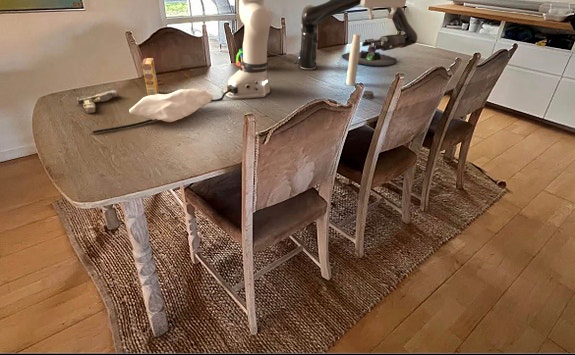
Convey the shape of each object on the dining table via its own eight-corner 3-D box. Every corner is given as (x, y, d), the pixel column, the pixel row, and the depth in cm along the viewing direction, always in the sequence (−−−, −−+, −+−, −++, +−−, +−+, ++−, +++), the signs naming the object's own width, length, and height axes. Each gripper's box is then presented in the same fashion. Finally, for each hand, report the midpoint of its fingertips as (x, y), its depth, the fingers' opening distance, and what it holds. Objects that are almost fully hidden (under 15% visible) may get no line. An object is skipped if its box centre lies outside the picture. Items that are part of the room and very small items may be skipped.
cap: (370, 99, 172) (371, 94, 171) (361, 97, 174) (362, 92, 173) (373, 96, 176) (374, 91, 174) (365, 94, 177) (365, 89, 176)
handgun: (128, 97, 156) (111, 87, 164) (86, 107, 144) (70, 97, 152) (129, 103, 157) (113, 94, 165) (88, 114, 146) (72, 103, 154)
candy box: (157, 97, 164) (152, 63, 155) (147, 98, 163) (141, 63, 155) (158, 91, 171) (153, 57, 163) (149, 91, 170) (143, 58, 162)
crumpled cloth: (117, 110, 146) (113, 90, 140) (195, 92, 166) (194, 73, 160) (143, 139, 134) (140, 118, 128) (223, 116, 154) (224, 96, 148)
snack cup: (256, 64, 215) (256, 46, 209) (265, 68, 208) (265, 50, 202) (232, 67, 207) (231, 49, 202) (240, 72, 200) (240, 53, 195)
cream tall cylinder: (346, 85, 188) (353, 35, 175) (345, 82, 192) (351, 33, 179) (355, 85, 189) (362, 35, 175) (353, 82, 193) (360, 33, 179)
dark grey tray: (408, 61, 231) (410, 46, 226) (368, 68, 213) (370, 52, 209) (368, 52, 256) (369, 39, 251) (330, 58, 238) (331, 43, 234)
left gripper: (368, -17, 143) (362, 20, 150) (411, -17, 149) (404, 19, 157) (360, -19, 148) (355, 18, 155) (402, -19, 154) (396, 17, 161)
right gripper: (379, 32, 198) (359, 35, 189) (401, 37, 188) (381, 41, 180) (377, 46, 202) (357, 50, 193) (398, 52, 192) (378, 56, 184)
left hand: (380, 18), depth 156 cm, fingers open, 8 cm apart
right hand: (368, 45), depth 186 cm, fingers open, 8 cm apart
